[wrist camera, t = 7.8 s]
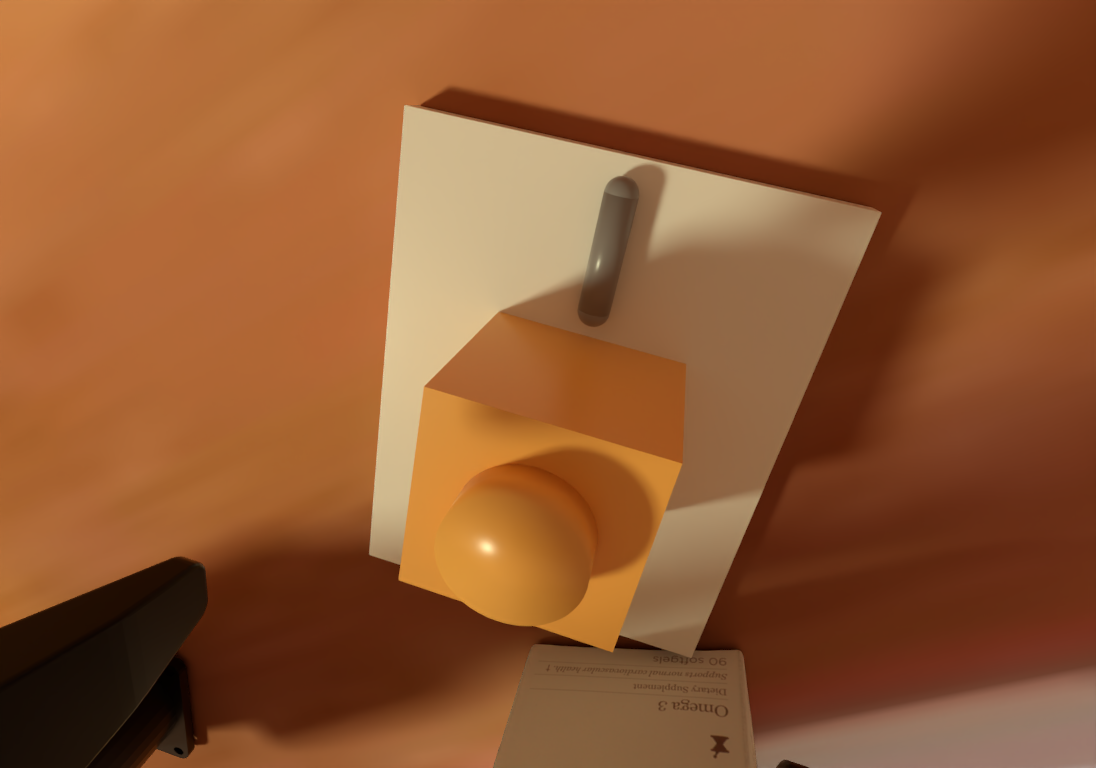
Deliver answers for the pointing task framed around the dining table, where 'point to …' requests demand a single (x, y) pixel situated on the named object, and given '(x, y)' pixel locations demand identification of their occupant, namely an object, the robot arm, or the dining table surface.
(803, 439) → the dining table surface
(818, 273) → the cream base plate
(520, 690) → the supplement box
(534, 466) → the orange domed cube
